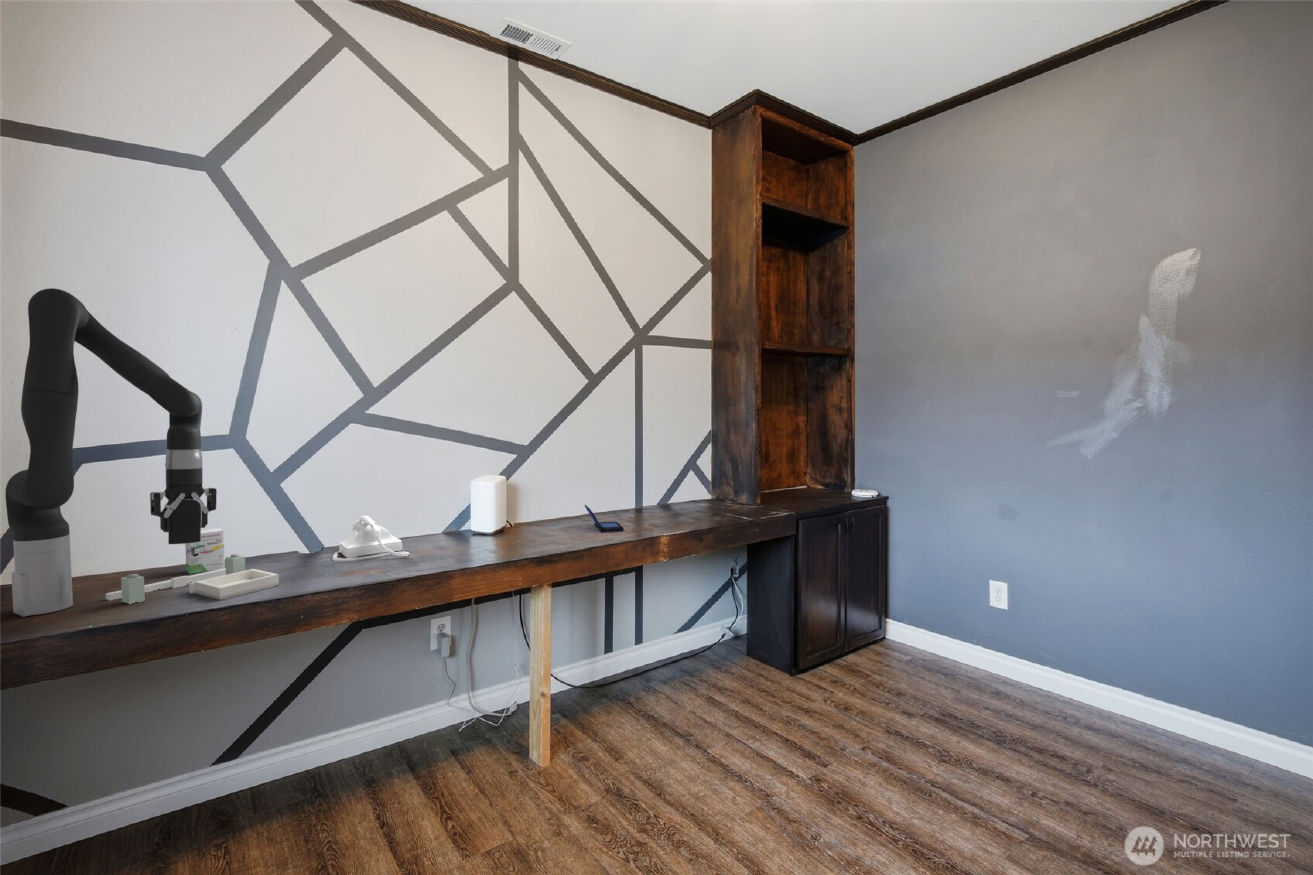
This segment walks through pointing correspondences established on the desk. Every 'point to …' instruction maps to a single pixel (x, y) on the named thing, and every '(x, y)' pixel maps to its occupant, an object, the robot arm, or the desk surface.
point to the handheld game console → (605, 524)
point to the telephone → (368, 541)
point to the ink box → (206, 552)
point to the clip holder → (171, 581)
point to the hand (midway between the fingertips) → (184, 529)
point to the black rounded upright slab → (185, 522)
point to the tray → (236, 584)
